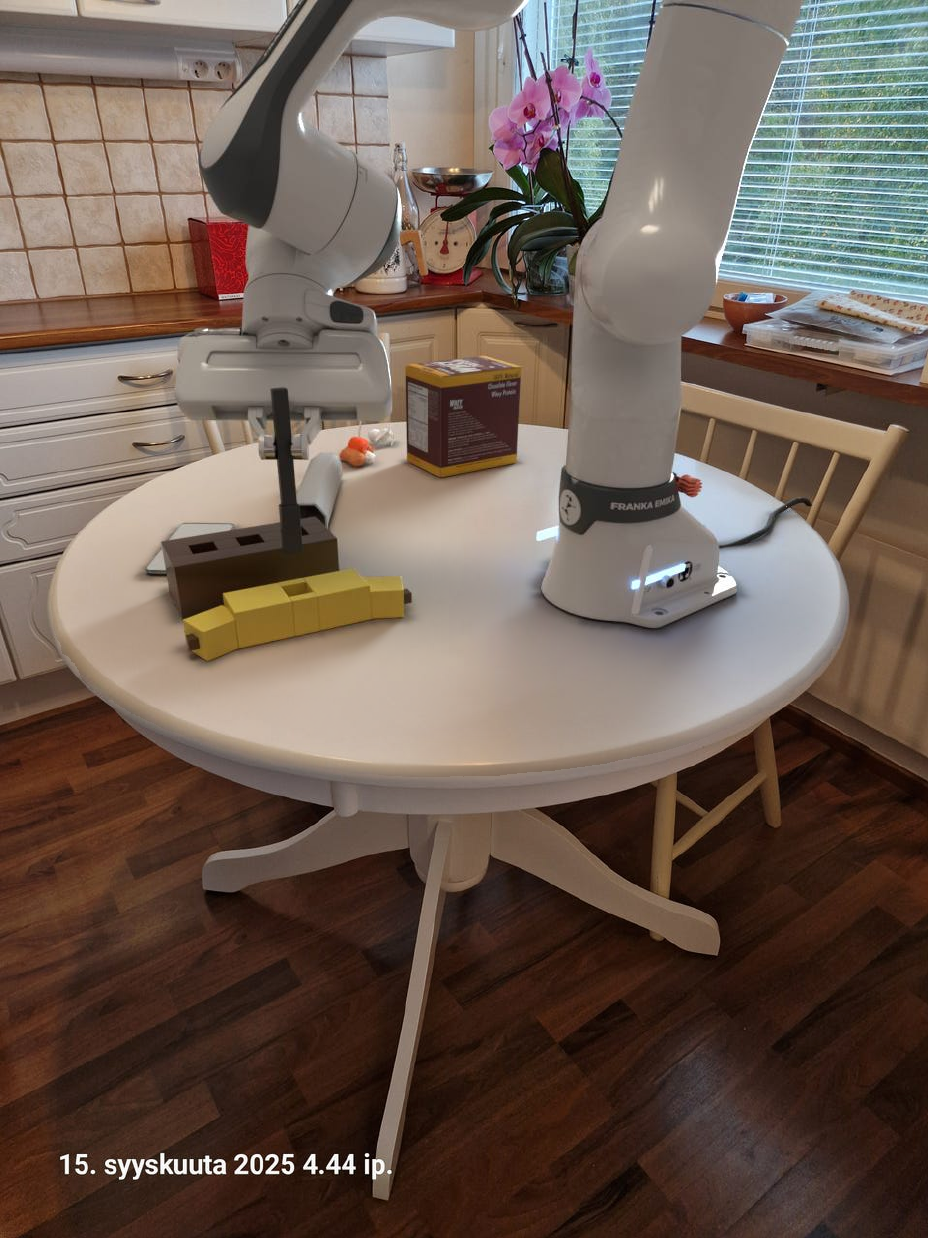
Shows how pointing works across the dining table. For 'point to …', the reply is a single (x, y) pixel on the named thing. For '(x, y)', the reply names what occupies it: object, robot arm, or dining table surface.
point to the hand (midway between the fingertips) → (284, 457)
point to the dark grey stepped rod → (286, 474)
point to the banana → (293, 610)
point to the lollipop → (358, 451)
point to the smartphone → (184, 531)
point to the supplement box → (462, 414)
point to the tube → (320, 487)
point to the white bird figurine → (380, 435)
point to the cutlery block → (242, 562)
